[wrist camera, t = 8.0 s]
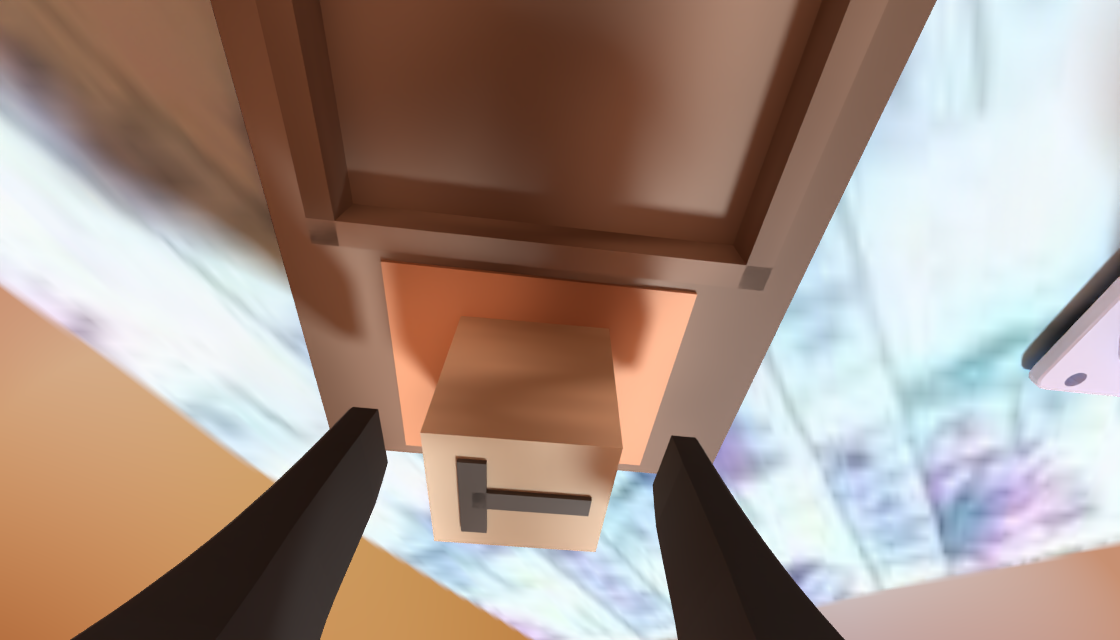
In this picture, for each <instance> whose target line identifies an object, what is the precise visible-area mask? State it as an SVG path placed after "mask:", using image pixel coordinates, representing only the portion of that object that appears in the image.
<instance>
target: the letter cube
mask: <svg viewBox="0 0 1120 640" xmlns="http://www.w3.org/2000/svg"><path fill="white" fill-rule="evenodd" d="M420 436H421V443H422V451H423V458H424V466H425V474H426V481H427V489H428V496H429V504H430V512H431V519H432V527H433V534H434V541H443V542H458V543H473V544H487V545H502V546H517V547H531V548H546V549H561V550H575V551H590V552H596V548H597V544H598V540H599V536H600V533H601V529H602V525H603V521H604V518H605V514H606V510H607V506H608V503H609V499H610V495H611V491H612V488H613V484H614V480H615V476H616V472H617V469H618V465H619V461H620V457H621V454H622V450H623V445H622V436H621V427H620V418H619V410H618V401H617V392H616V384H615V375H614V366H613V358H612V349H611V340H610V332H609V329H608V328H596V327H584V326H573V325H561V324H550V323H538V322H526V321H515V320H503V319H492V318H480V317H469V316H461V317H460V320H459V323H458V326H457V329H456V332H455V334H454V337H453V340H452V343H451V346H450V349H449V352H448V354H447V357H446V360H445V363H444V366H443V369H442V372H441V374H440V377H439V380H438V383H437V386H436V389H435V392H434V394H433V397H432V400H431V403H430V406H429V409H428V412H427V414H426V417H425V420H424V423H423V426H422V429H421V432H420Z"/></svg>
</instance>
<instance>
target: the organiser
mask: <svg viewBox="0 0 1120 640" xmlns="http://www.w3.org/2000/svg"><path fill="white" fill-rule="evenodd" d="M210 1H211V4H212V8H213V11H214V15H215V19H216V22H217V26H218V29H219V33H220V37H221V40H222V44H223V47H224V51H225V55H226V58H227V62H228V65H229V69H230V72H231V76H232V80H233V83H234V87H235V90H236V94H237V98H238V101H239V105H240V108H241V112H242V116H243V119H244V123H245V126H246V130H247V134H248V137H249V141H250V144H251V148H252V151H253V155H254V159H255V162H256V166H257V169H258V173H259V177H260V180H261V184H262V187H263V191H264V195H265V198H266V202H267V205H268V209H269V212H270V216H271V220H272V223H273V227H274V230H275V234H276V238H277V241H278V245H279V248H280V252H281V256H282V259H283V263H284V266H285V270H286V273H287V277H288V281H289V284H290V288H291V291H292V295H293V299H294V302H295V306H296V309H297V313H298V317H299V320H300V324H301V327H302V331H303V335H304V338H305V342H306V345H307V349H308V352H309V356H310V360H311V363H312V367H313V370H314V374H315V378H316V381H317V385H318V388H319V392H320V396H321V399H322V403H323V406H324V410H325V413H326V417H327V421H328V424H329V428H331V427H332V426H333V425H334V424H335V423H336V422H337V421H338V420H339V419H340V418H341V417H342V416H343V415H344V414H345V413H346V412H347V411H348V410H349V409H350V408H352V407H361V408H372V409H378V411H379V417H380V422H381V428H382V433H383V439H384V445H385V450H388V451H399V452H411V453H423V451H422V443H421V436H420V432H421V429H422V426H423V423H424V420H425V417H426V414H427V412H428V409H429V406H430V403H431V400H432V397H433V394H434V392H435V389H436V386H437V383H438V380H439V377H440V374H441V372H442V369H443V366H444V363H445V360H446V357H447V354H448V352H449V349H450V346H451V343H452V340H453V337H454V334H455V332H456V329H457V326H458V323H459V320H460V317H461V316H469V317H480V318H492V319H503V320H515V321H526V322H538V323H550V324H561V325H573V326H584V327H596V328H608V329H609V332H610V340H611V349H612V358H613V366H614V375H615V384H616V392H617V401H618V410H619V418H620V427H621V436H622V445H623V450H622V454H621V457H620V461H619V465H618V469H617V470H622V471H633V472H645V473H657V472H658V470H659V467H660V464H661V462H662V459H663V456H664V454H665V451H666V448H667V446H668V443H669V441H670V438H671V435H673V436H684V437H696V439H697V440H698V441H699V443H700V444H701V446H702V448H703V449H704V451H705V453H706V454H707V456H708V458H709V459H710V461H711V462H712V464H713V462H714V460H715V458H716V456H717V453H718V451H719V449H720V447H721V445H722V443H723V441H724V439H725V437H726V435H727V433H728V431H729V429H730V427H731V425H732V422H733V420H734V418H735V416H736V414H737V412H738V410H739V408H740V406H741V404H742V402H743V400H744V398H745V396H746V394H747V391H748V389H749V387H750V385H751V383H752V381H753V379H754V377H755V375H756V373H757V371H758V369H759V367H760V365H761V362H762V360H763V358H764V356H765V354H766V352H767V350H768V348H769V346H770V344H771V342H772V340H773V338H774V336H775V334H776V331H777V329H778V327H779V325H780V323H781V321H782V319H783V317H784V315H785V313H786V311H787V309H788V307H789V305H790V303H791V300H792V298H793V296H794V294H795V292H796V290H797V288H798V286H799V284H800V282H801V280H802V278H803V276H804V274H805V272H806V269H807V267H808V265H809V263H810V261H811V259H812V257H813V255H814V253H815V251H816V249H817V247H818V245H819V243H820V240H821V238H822V236H823V234H824V232H825V230H826V228H827V226H828V224H829V222H830V220H831V218H832V216H833V214H834V212H835V209H836V207H837V205H838V203H839V201H840V199H841V197H842V195H843V193H844V191H845V189H846V187H847V185H848V183H849V181H850V178H851V176H852V174H853V172H854V170H855V168H856V166H857V164H858V162H859V160H860V158H861V156H862V154H863V152H864V150H865V147H866V145H867V143H868V141H869V139H870V137H871V135H872V133H873V131H874V129H875V127H876V125H877V123H878V121H879V118H880V116H881V114H882V112H883V110H884V108H885V106H886V104H887V102H888V100H889V98H890V96H891V94H892V92H893V90H894V87H895V85H896V83H897V81H898V79H899V77H900V75H901V73H902V71H903V69H904V67H905V65H906V63H907V61H908V59H909V56H910V54H911V52H912V50H913V48H914V46H915V44H916V42H917V40H918V38H919V36H920V34H921V32H922V30H923V28H924V25H925V23H926V21H927V19H928V17H929V15H930V13H931V11H932V9H933V7H934V5H935V3H936V1H937V0H210Z"/></svg>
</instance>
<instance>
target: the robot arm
mask: <svg viewBox="0 0 1120 640" xmlns="http://www.w3.org/2000/svg"><path fill="white" fill-rule="evenodd" d="M1029 379H1030V380H1031V381H1032V382H1033V383H1034V384H1036V385H1037V386H1038V387H1039V388H1042V389H1046V390H1056V391H1066V392H1076V393H1086V394H1097V395H1107V396H1117V397H1120V276H1119V277H1118V278H1117V279H1116V280H1115V281H1114V282H1113V283H1112V284H1111V285H1110V287H1109V288H1108V289H1107V290H1106V291H1105V292H1104V293H1103V294H1102V295H1101V296H1100V297H1099V298H1098V299H1097V300H1096V301H1095V302H1094V303H1093V304H1092V305H1091V307H1090V308H1089V309H1088V310H1087V311H1086V312H1085V313H1084V314H1083V315H1082V316H1081V317H1080V318H1079V319H1078V320H1077V321H1076V322H1075V323H1074V324H1073V325H1072V326H1071V328H1070V329H1069V330H1068V331H1067V332H1066V333H1065V334H1064V335H1063V336H1062V337H1061V338H1060V339H1059V340H1058V341H1057V342H1056V343H1055V344H1054V345H1053V346H1052V348H1051V349H1050V350H1049V351H1048V352H1047V353H1046V354H1045V355H1044V356H1043V357H1042V358H1041V359H1040V360H1039V361H1038V362H1037V363H1036V364H1035V365H1034V366H1033V368H1032V369H1031V371H1030V372H1029ZM387 463H388V461H387V456H386V450H385V445H384V439H383V433H382V428H381V422H380V417H379V411H378V409H372V408H361V407H352V408H350V409H349V410H348V411H347V412H346V413H345V414H344V415H343V416H342V417H341V418H340V419H339V420H338V421H337V422H336V423H335V424H334V425H333V426H332V427H331V428H330V429H329V430H328V432H327V433H326V434H325V435H324V436H323V437H322V438H321V439H320V440H319V441H318V442H317V443H316V444H315V445H314V446H313V447H312V448H311V449H310V450H309V451H308V452H307V453H306V454H305V455H304V456H303V457H302V458H301V459H300V460H298V461H297V462H296V463H295V464H294V465H293V466H292V467H291V468H290V469H289V470H288V471H287V472H286V473H285V474H284V475H283V476H282V477H281V478H280V479H279V480H278V481H277V482H275V483H274V484H273V485H272V486H271V487H270V488H269V489H268V490H267V491H266V492H264V493H263V494H262V495H261V496H260V497H259V498H258V499H257V500H255V501H254V502H253V503H252V504H251V505H250V506H249V507H248V508H246V509H245V510H244V511H243V512H242V513H241V514H240V515H239V516H238V517H236V518H235V519H234V520H233V521H232V522H230V523H229V524H228V525H227V526H226V527H224V528H223V529H222V530H221V531H220V532H218V533H217V534H216V535H215V536H214V537H212V538H211V539H210V540H209V541H207V542H206V543H205V544H204V545H203V546H201V547H200V548H198V550H196V551H195V552H193V553H192V554H191V555H190V556H188V557H187V558H186V559H184V560H183V561H182V562H181V563H179V564H178V565H177V566H175V567H174V568H173V569H171V570H170V571H168V572H167V573H166V574H164V575H163V576H162V577H160V578H159V579H158V580H156V581H155V582H154V583H152V584H151V585H149V586H148V587H147V588H145V589H144V590H143V591H141V592H140V593H139V594H137V595H136V596H134V597H133V598H132V599H130V600H129V601H127V602H126V603H124V604H123V605H122V606H120V607H119V608H117V609H116V610H114V611H113V612H112V613H110V614H109V615H107V616H106V617H104V618H103V619H101V620H99V621H98V622H97V623H95V624H93V625H92V626H90V627H89V628H87V629H86V630H85V631H83V632H81V633H80V634H78V635H77V636H75V637H74V638H72V639H71V640H320V638H321V634H322V632H323V629H324V625H325V623H326V619H327V617H328V614H329V612H330V609H331V607H332V604H333V602H334V599H335V597H336V594H337V592H338V590H339V587H340V585H341V583H342V581H343V578H344V576H345V574H346V571H347V569H348V567H349V564H350V562H351V560H352V557H353V555H354V553H355V551H356V548H357V546H358V543H359V541H360V539H361V537H362V534H363V532H364V530H365V527H366V525H367V523H368V520H369V518H370V515H371V513H372V511H373V508H374V506H375V503H376V500H377V497H378V494H379V491H380V487H381V484H382V481H383V477H384V474H385V470H386V467H387ZM653 495H654V509H655V519H656V528H657V533H658V539H659V544H660V549H661V554H662V559H663V564H664V569H665V574H666V579H667V584H668V589H669V594H670V599H671V604H672V609H673V614H674V619H675V625H676V631H677V637H678V640H845V639H844V638H843V637H842V636H841V635H840V634H839V633H838V632H837V630H836V629H835V628H834V627H833V626H832V625H831V624H830V623H829V621H828V620H827V619H826V618H825V617H824V616H823V615H822V614H821V612H820V611H819V610H818V609H817V608H816V606H815V605H814V604H813V603H812V602H811V601H810V599H809V598H808V597H807V596H806V595H805V593H804V592H803V591H802V590H801V589H800V587H799V586H798V585H797V584H796V582H795V581H794V580H793V579H792V577H791V576H790V575H789V574H788V572H787V571H786V570H785V568H784V567H783V566H782V565H781V563H780V562H779V561H778V559H777V558H776V557H775V555H774V554H773V553H772V551H771V550H770V549H769V547H768V546H767V545H766V543H765V542H764V540H763V539H762V538H761V536H760V535H759V533H758V532H757V531H756V529H755V528H754V526H753V525H752V523H751V522H750V521H749V519H748V518H747V516H746V515H745V513H744V512H743V510H742V509H741V507H740V506H739V505H738V503H737V502H736V500H735V499H734V497H733V495H732V494H731V492H730V491H729V489H728V488H727V486H726V485H725V483H724V482H723V480H722V478H721V477H720V475H719V474H718V472H717V470H716V469H715V467H714V466H713V464H712V462H711V461H710V459H709V458H708V456H707V454H706V453H705V451H704V449H703V448H702V446H701V444H700V443H699V441H698V440H697V439H696V437H684V436H673V435H671V438H670V441H669V443H668V446H667V448H666V451H665V454H664V456H663V459H662V462H661V464H660V467H659V470H658V472H657V475H656V478H655V480H654V483H653Z"/></svg>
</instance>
